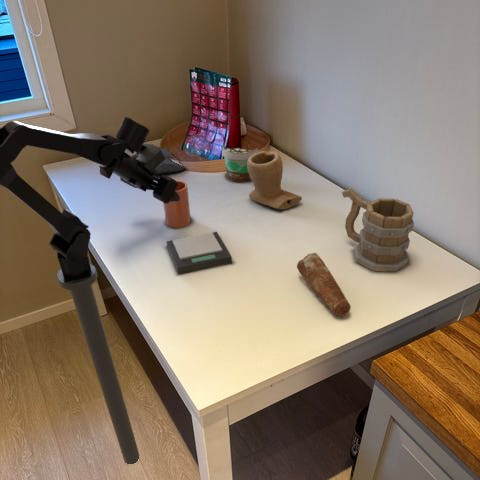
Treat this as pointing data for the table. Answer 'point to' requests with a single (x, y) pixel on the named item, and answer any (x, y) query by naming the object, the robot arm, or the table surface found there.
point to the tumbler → (178, 208)
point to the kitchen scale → (198, 252)
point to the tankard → (380, 232)
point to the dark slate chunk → (166, 163)
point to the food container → (237, 163)
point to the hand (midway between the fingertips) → (168, 194)
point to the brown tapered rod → (323, 283)
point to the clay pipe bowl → (269, 181)
